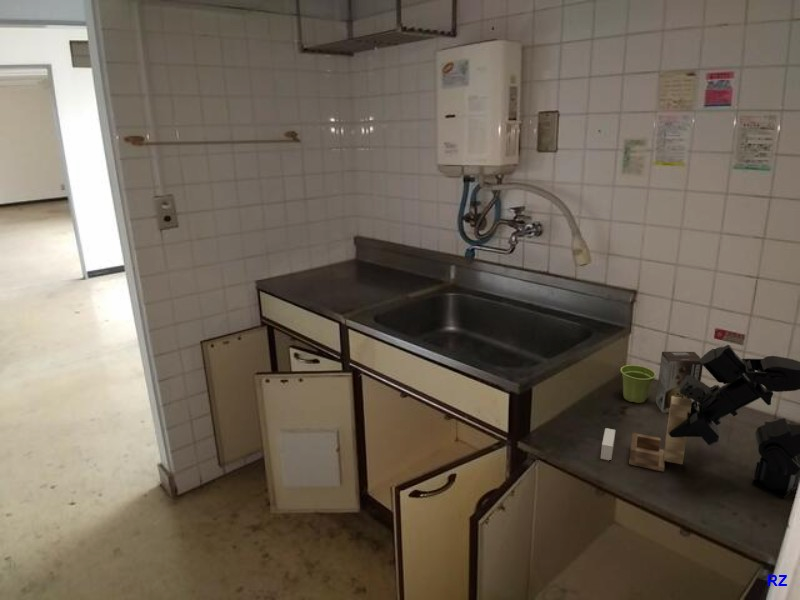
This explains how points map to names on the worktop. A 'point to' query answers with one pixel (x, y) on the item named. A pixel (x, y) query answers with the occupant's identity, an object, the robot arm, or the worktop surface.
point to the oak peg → (676, 416)
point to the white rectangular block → (607, 444)
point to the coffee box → (675, 375)
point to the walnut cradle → (646, 452)
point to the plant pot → (636, 382)
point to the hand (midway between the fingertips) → (670, 430)
